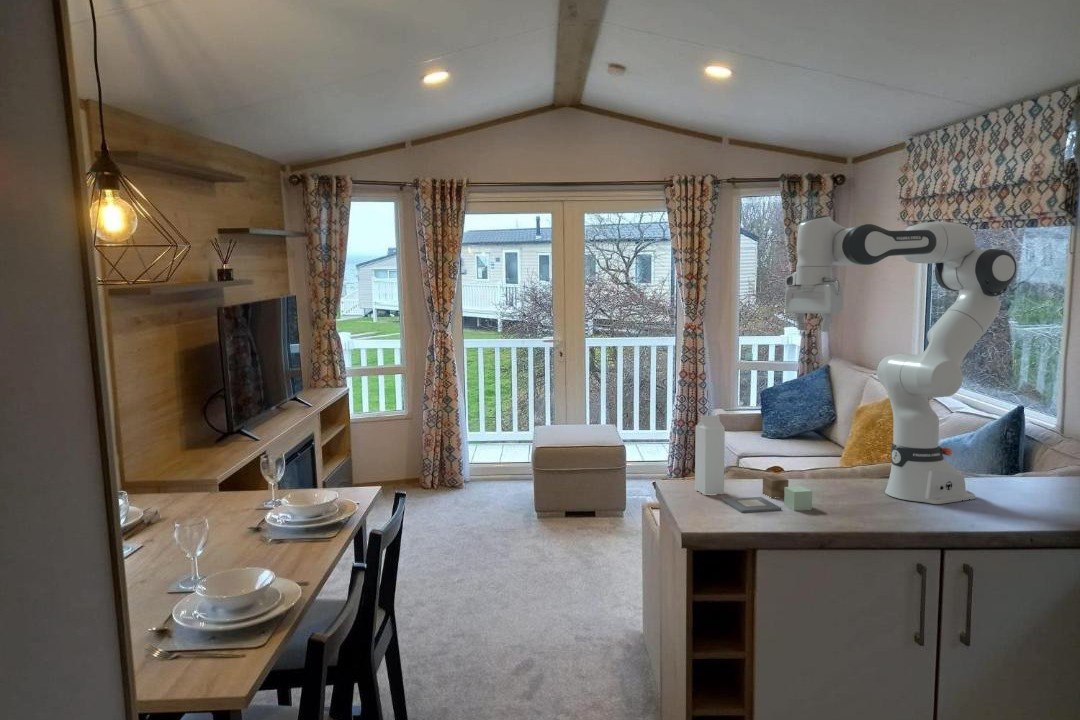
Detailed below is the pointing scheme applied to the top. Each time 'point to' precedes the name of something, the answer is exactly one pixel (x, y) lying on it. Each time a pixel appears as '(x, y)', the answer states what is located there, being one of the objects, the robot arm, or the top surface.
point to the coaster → (751, 504)
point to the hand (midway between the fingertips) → (812, 330)
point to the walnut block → (774, 486)
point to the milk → (709, 455)
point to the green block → (798, 498)
